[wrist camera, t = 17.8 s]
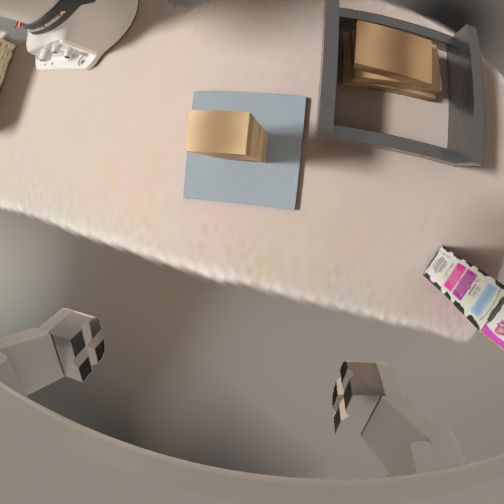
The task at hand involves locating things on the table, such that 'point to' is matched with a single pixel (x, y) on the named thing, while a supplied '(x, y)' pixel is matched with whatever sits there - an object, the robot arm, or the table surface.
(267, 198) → the slate mat
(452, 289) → the candy bar box
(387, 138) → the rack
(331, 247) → the table surface
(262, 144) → the tan wooden block
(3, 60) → the storage basket
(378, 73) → the offcut stack
